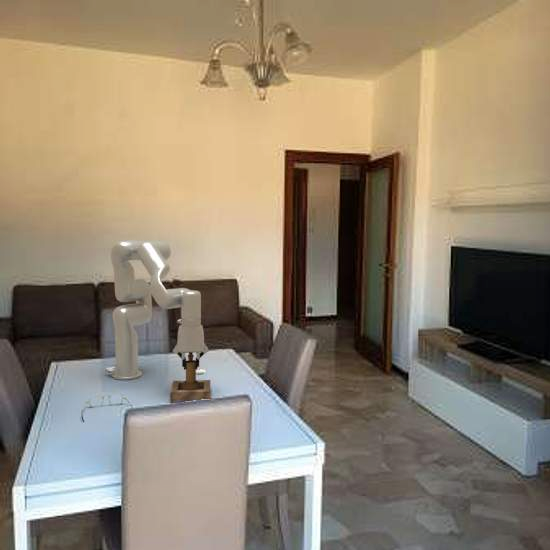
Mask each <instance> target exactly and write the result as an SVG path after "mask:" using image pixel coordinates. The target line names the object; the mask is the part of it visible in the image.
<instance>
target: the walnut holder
mask: <svg viewBox="0 0 550 550" xmlns="http://www.w3.org/2000/svg"><path fill="white" fill-rule="evenodd" d="M196 380H197V381H198V382H199V390H183V389H182V384H183V382H184V381H186V379H185V380H172V383H171V388H170V394H169V395H170V399H169V401H170V403H171V404H172V403H173V404H174V403H175V404H177V403H179V402H182V403H186V402H185V401H193V400H201V399H210V400H211V379H196Z"/></svg>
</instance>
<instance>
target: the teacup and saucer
mask: <svg viewBox="0 0 550 550" xmlns="http://www.w3.org/2000/svg"><path fill="white" fill-rule="evenodd" d="M206 372H207V371H206V369H201V362H199V367H198V368H197V369H196V375H201V374H202V375H203V374H205V373H206Z"/></svg>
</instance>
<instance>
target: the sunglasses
mask: <svg viewBox="0 0 550 550" xmlns="http://www.w3.org/2000/svg"><path fill="white" fill-rule="evenodd" d="M114 394H117V395H120V396H121V397H122V399H121V402H119V405H122V403H123V401H124V400H126V401H127V403H128V404H129V405H130V407H131V410H132V409H133V410H134V408H133V405H132V404H131V402H130V401H129V399H128V397H127V396H125V397H123V394H121V393H120V392H113V393H111V394H110V395H100V394H99V393H96V394H93V395H91V396H90V398H89V399H88V400H85V401H84V405H83V407H82V410H81V413H84V409H85V406H86V404H88V403H89V407H90V408H93V406H92V404H90V401H91V399H92V398H93V397H94V396H95V397H96V396H100V397H101V399H102V402H101V404H100V405H99V407H102V405H103V404H104V400H105V399H104V397H108V398H107V399H108V403H109V404H110V405H111V406H113V404H112V403H111V401H110V398H111V396H113V395H114ZM81 418H82V419H81V420H82V422H83V423H85V420H84V416H83V415H81Z"/></svg>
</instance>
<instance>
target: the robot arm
mask: <svg viewBox="0 0 550 550" xmlns="http://www.w3.org/2000/svg"><path fill="white" fill-rule="evenodd" d="M170 256H171V247H170V246H169V244H168V243H167V242H165V241H163V240H142V239H141V240H132V239H131V240H129V239H128V240H121V241H117V242H115V243H114V244H113V246H112V247H111V250H110V260H111V264H112V269H113V278H114V293H115V298H116V300H117V302H118V301H119V302H121V303H125V302H126V303H128V302H135V303H131V304H130V303H129V304H123V305H120V306H117V307H116V308H115V309H114V310H113V312H112V323H113V326H114V336H115V337H114V340H115V342H114V343H115V344H114V345H115V347H114V348H115V366H105V372H107V373H111V375H112V376H111V377H112V379H115V380H120V381H121V380H123V381H124V380H135V379H138V378H140V377H142V376H143V375H142V371H141V370H139V341H138V340H139V336H138V333H137V331H136V330H135V328H134V327H135V326H140V325H145V324H148V323H150V321H151V320H152V316H153V300H152V297H153V299H154V301H155V303H156V304H157V305H158V306H159V307H160V308H162V309H163V310H168V309H169V310H170V309H177V308H179V309H180V308H181V309H180V318H179V319H177V321H176V322H177V324H180V325H179V327H178V331H177V343H176V345H175V346H174V348H173V349H172V353H174V354H175V355H178V357H179V358H180V359H181V365H182V366H181V367H182V368H183V370H185V371H186V361H187V358H186V353H189V352H193V353H195V355H196V357H195V361H196V369H197V368H198V367H199V363H200V359H201V358H202V357H203V356H204V355H205V354H207V353H209V348H208V346H207V345H206V343H205V332H204V326H203V324H201V323H202V313H201V312H202V301H201V300H202V294H201V291H198V290H193V289H192V290H191V289H189V288H186V287H178V288H168V289H166V287H165V286H164V285H163V283H162V279H164V278H165V277H167V276H168V274H169V273H170V272H171V266H170V264H169V263H168V261H167V260H169V258H170ZM130 261H140V262H141V263H142V265H143V266H144V267H145V269H146V270H147V273H148V274H149V275H150V280H149V282H148V281H147V280H145V279H143V278H136V277H135V268H134V267H133V265H132V264H131V262H130Z"/></svg>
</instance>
